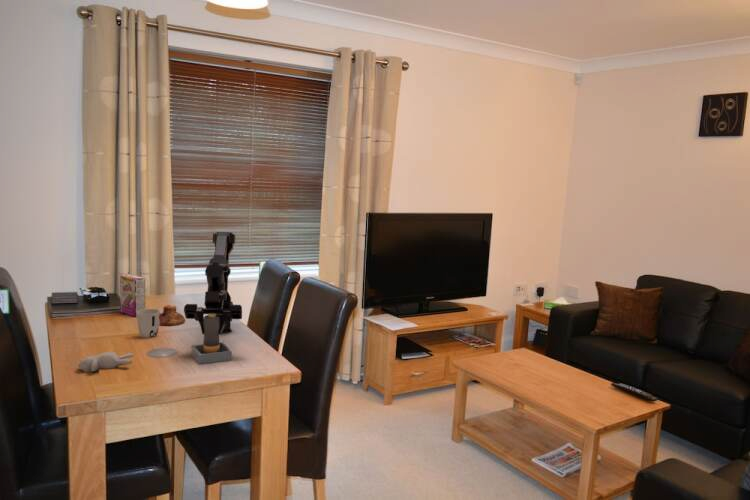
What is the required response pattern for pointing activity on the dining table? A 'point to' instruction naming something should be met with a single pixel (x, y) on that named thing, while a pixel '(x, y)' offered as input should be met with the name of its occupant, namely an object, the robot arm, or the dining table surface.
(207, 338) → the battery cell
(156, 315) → the cup
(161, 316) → the brown rounded piece
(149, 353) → the pad
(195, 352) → the dish
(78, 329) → the dining table surface
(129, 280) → the candy bar box
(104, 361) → the bunny figurine
